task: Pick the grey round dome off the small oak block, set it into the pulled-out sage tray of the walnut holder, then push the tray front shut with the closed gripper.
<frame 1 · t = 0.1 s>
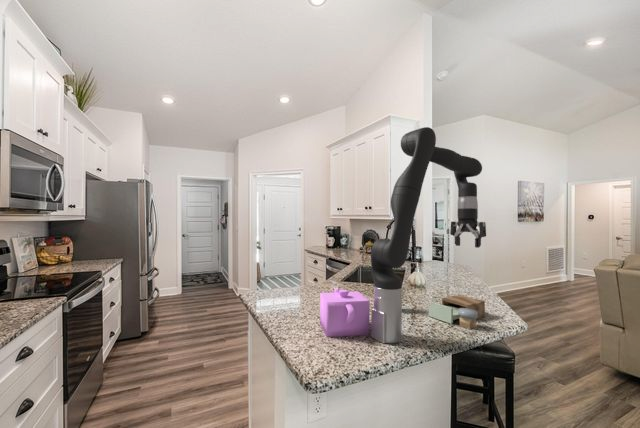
hand: (467, 246, 120), 29 cm above the countertop, tool pointing down, fingers open, 8 cm apart
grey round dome: (467, 315, 108), point 4 cm above the countertop, touching oak block
oak block: (467, 326, 108), on the countertop
tray: (449, 309, 117), point 3 cm above the countertop, slide at 8.0 cm
holder: (463, 314, 122), on the countertop
teapot: (342, 328, 106), on the countertop
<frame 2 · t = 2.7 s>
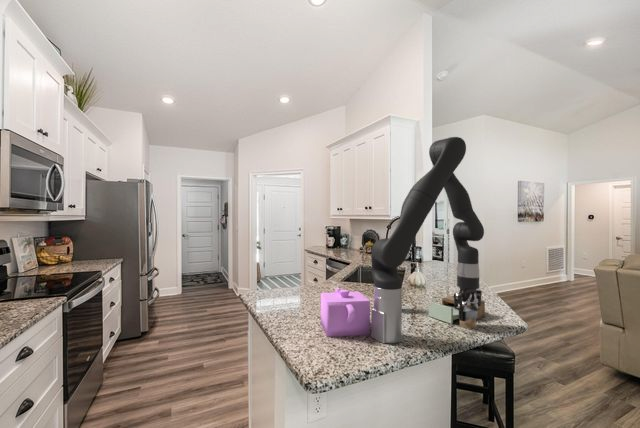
hand: (468, 319, 108), 3 cm above the countertop, tool pointing down, fingers closed on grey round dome, 6 cm apart
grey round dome: (467, 315, 108), point 4 cm above the countertop, touching gripper, oak block
everything else where it was.
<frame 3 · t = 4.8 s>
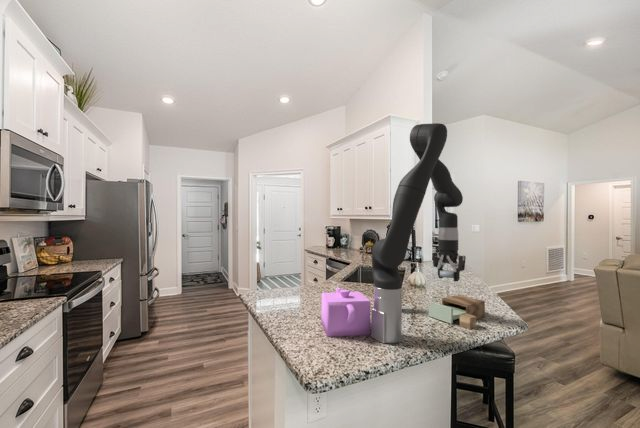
hand: (448, 279, 117), 16 cm above the countertop, tool pointing down, fingers closed on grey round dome, 6 cm apart
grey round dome: (448, 276, 117), point 17 cm above the countertop, touching gripper
everything else where it was.
when the fingers open (3 cm above the countertop, at t = 6.8 s): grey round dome drops 2 cm, resting on tray.
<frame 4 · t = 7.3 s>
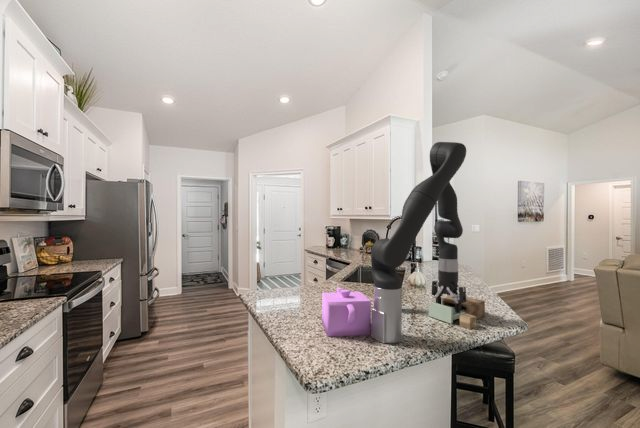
hand: (448, 309, 117), 4 cm above the countertop, tool pointing down, fingers open, 8 cm apart
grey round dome: (448, 313, 117), point 2 cm above the countertop, touching tray
tray: (449, 309, 117), point 3 cm above the countertop, slide at 8.0 cm, touching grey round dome
everything else where it was.
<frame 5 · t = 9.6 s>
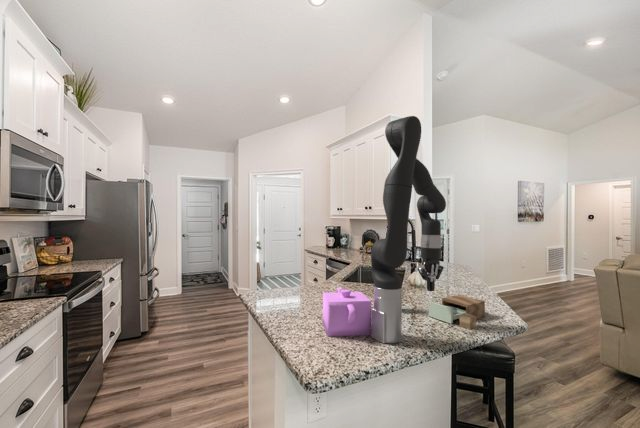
hand: (430, 290, 112), 12 cm above the countertop, tool pointing down, fingers closed
nothing on the countertop moved.
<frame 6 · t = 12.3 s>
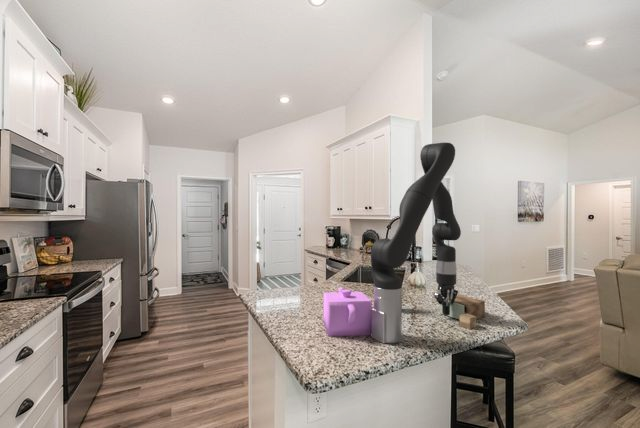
hand: (446, 314, 117), 2 cm above the countertop, tool pointing down, fingers closed
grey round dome: (459, 310, 121), point 2 cm above the countertop, touching tray
tray: (460, 307, 121), point 3 cm above the countertop, slide at 0.8 cm, touching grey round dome, gripper, hand
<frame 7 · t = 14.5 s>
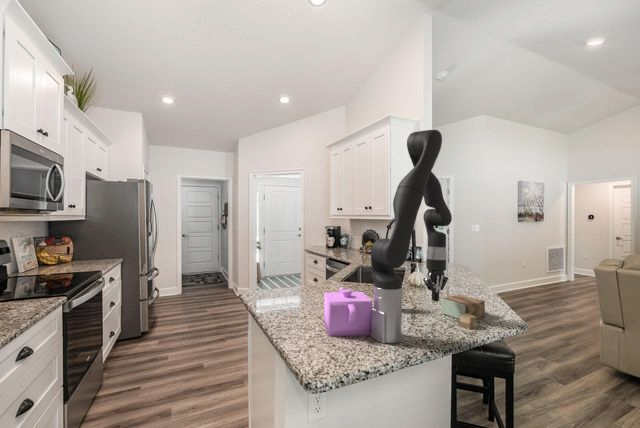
hand: (435, 300, 116), 7 cm above the countertop, tool pointing down, fingers closed
tray: (461, 307, 122), point 3 cm above the countertop, slide at 0.0 cm, touching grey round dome
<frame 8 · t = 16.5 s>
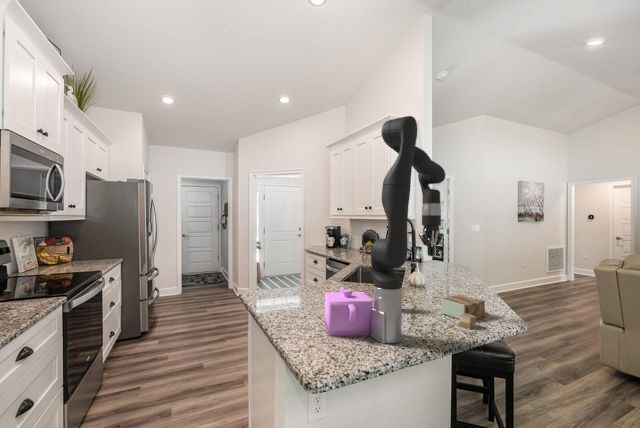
hand: (431, 255, 120), 25 cm above the countertop, tool pointing down, fingers closed
at the end: tray slide at 0.0 cm; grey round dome inside the target area on the holder (1.5 cm from its centre), point 2.0 cm above the holder's base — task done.
